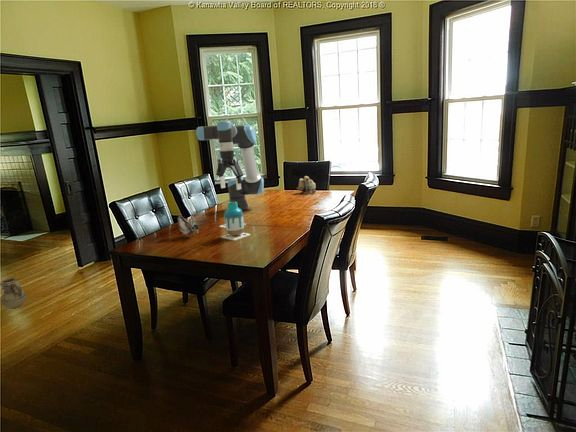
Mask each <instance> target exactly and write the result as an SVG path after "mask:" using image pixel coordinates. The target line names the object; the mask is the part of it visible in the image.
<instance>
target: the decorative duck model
mask: <svg viewBox="0 0 576 432" xmlns="http://www.w3.org/2000/svg"><path fill="white" fill-rule="evenodd" d="M177 224H178V225H177V226H178V229H179V230H178V235H179V236H182V235H187V236H192V235H194V233H195V231H196V233H197V234H199V225H198V224H192V223H191V222H190V221H188V220H187V219H186V218H184V216H182V215H180V214H178V216H177Z"/></svg>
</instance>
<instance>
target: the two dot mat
mask: <svg viewBox="0 0 576 432" xmlns="http://www.w3.org/2000/svg"><path fill="white" fill-rule="evenodd" d="M249 236H251V233H248V232H243V233H242V234H240V235H237V236H231V235H229V234H228V233H227V234H225V235H222V236H220V237H221V239H226V240H230V241H235V242H236V241H238V240H241V239H243V238H246V237H249Z"/></svg>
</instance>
